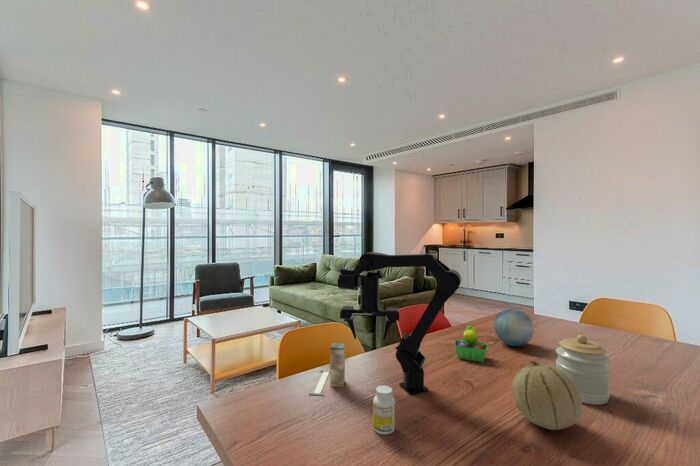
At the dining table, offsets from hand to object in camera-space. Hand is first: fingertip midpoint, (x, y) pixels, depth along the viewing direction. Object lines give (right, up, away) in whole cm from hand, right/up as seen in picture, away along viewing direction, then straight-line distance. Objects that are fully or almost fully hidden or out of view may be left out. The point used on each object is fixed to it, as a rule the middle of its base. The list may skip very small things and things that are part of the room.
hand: (369, 339), depth 103 cm
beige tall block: (-10, -13, -2) cm, 17 cm away
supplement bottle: (+2, -14, -25) cm, 29 cm away
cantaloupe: (+42, -14, -23) cm, 50 cm away
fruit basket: (+40, -13, +19) cm, 46 cm away
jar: (+62, -14, -8) cm, 64 cm away
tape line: (-15, -13, -2) cm, 20 cm away
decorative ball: (+63, -13, +32) cm, 71 cm away
